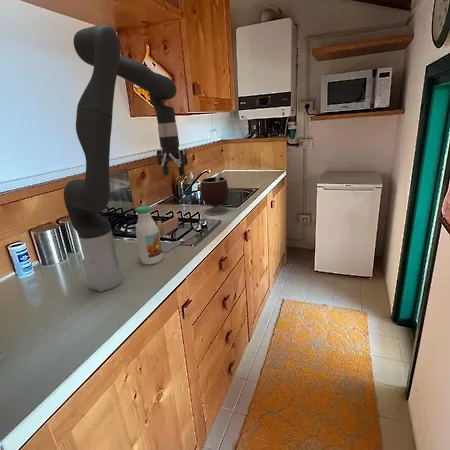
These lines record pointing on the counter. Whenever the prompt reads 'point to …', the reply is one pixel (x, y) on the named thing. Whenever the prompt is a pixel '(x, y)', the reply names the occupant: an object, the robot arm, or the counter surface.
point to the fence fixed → (160, 228)
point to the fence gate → (170, 224)
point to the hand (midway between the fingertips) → (174, 175)
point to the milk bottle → (148, 237)
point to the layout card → (170, 246)
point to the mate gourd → (214, 194)
